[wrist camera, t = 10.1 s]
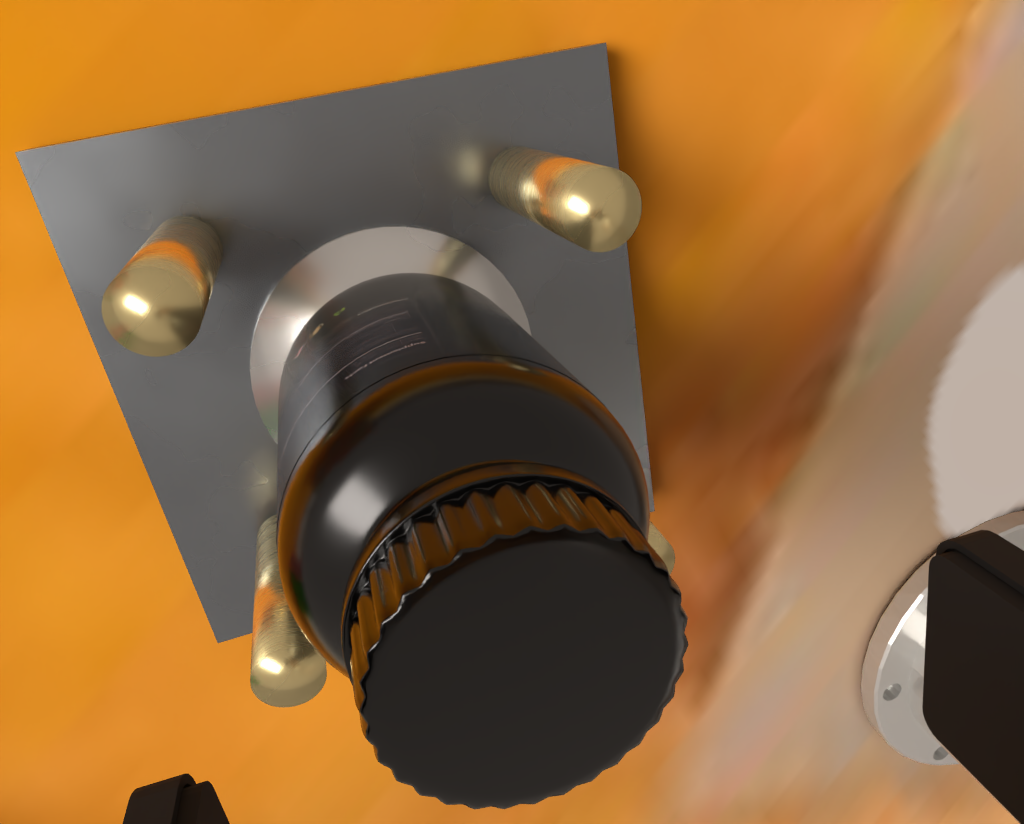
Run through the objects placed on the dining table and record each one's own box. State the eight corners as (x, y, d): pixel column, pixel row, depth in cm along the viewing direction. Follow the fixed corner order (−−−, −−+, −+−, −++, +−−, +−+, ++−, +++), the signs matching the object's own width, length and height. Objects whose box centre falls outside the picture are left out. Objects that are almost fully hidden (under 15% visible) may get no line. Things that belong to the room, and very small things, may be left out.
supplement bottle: (573, 378, 23) (838, 636, 12) (410, 542, 23) (524, 929, 13) (402, 206, 20) (552, 348, 9) (218, 400, 20) (153, 751, 10)
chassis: (589, 45, 21) (727, 26, 14) (639, 493, 27) (753, 622, 20) (30, 148, 18) (-103, 181, 12) (220, 618, 24) (199, 809, 18)
